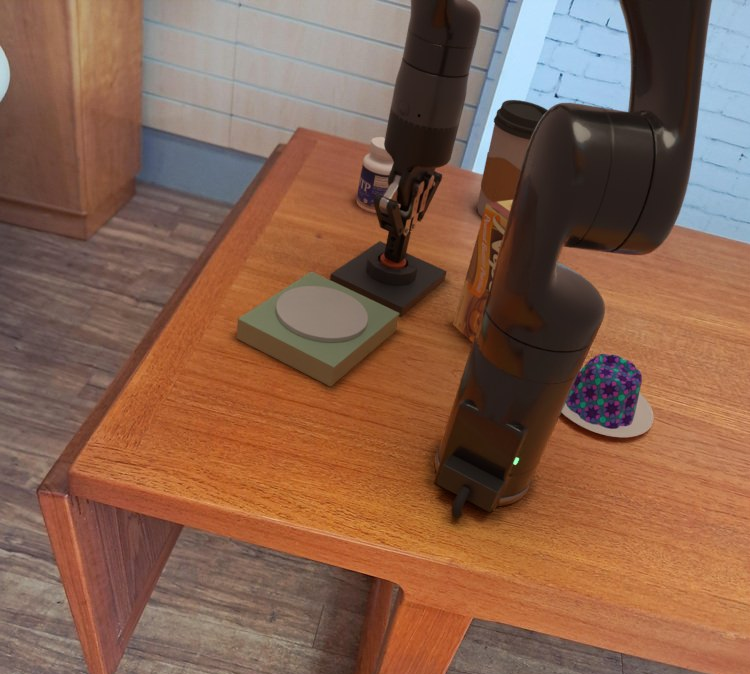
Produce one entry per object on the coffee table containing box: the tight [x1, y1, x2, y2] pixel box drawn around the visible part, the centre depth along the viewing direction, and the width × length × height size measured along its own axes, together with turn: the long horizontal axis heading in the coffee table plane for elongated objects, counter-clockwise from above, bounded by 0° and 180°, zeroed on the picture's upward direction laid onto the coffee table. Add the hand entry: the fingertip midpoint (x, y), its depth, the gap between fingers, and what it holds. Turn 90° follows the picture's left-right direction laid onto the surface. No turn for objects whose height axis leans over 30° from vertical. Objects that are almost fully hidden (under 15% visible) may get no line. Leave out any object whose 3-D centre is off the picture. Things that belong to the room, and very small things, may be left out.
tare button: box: [380, 254, 406, 269], centre depth 96 cm, size 3×3×2 cm
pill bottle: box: [356, 136, 394, 214], centre depth 108 cm, size 5×5×9 cm
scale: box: [236, 270, 400, 387], centre depth 85 cm, size 14×12×3 cm
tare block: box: [329, 240, 448, 318], centre depth 96 cm, size 12×10×3 cm
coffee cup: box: [476, 99, 549, 218], centre depth 112 cm, size 8×8×15 cm
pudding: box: [561, 353, 655, 438], centre depth 85 cm, size 12×12×5 cm
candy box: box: [452, 200, 564, 344], centre depth 86 cm, size 9×4×15 cm, turn 33°
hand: (394, 258), depth 95 cm, fingers closed
